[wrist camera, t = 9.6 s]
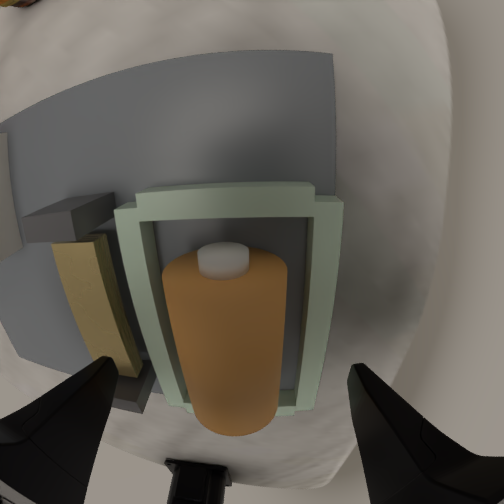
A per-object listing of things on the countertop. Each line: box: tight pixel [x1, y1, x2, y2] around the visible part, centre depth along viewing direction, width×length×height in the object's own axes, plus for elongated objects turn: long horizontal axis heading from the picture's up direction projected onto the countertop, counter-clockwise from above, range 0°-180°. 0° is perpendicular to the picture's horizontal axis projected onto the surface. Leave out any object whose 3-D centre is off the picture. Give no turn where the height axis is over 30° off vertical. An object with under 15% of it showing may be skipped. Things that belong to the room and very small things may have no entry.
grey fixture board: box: [0, 50, 344, 416], centre depth 10 cm, size 17×23×4 cm
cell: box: [162, 242, 287, 436], centre depth 10 cm, size 8×4×4 cm, turn 1°
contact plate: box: [51, 233, 143, 378], centre depth 11 cm, size 7×2×1 cm, turn 2°
